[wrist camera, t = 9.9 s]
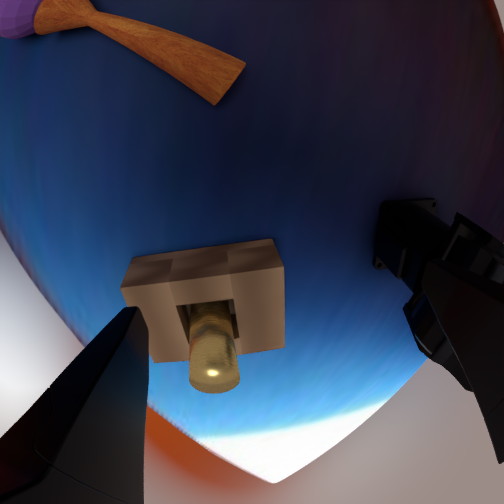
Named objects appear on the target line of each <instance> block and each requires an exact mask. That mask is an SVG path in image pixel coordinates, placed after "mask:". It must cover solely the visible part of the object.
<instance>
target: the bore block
mask: <svg viewBox="0 0 504 504" xmlns="http://www.w3.org/2000/svg"><path fill="white" fill-rule="evenodd" d="M120 289H121V292H122V294H123V297H124V299H125V301H126V304H127V306H128V307H130V306H137V307H139V308H140V310H141V312H142V315H143V317H144V319H145V322H146V324H147V327H148V330H149V354H150V356H151V357H152V359H153V361H154V363H161V362H176V361H188V360H189V341H190V304H194V303H203V302H211V301H218V300H226V299H228V301H229V308H230V315H231V322H232V329H233V335H234V342H235V349H236V355H241V354H248V353H255V352H261V351H268V350H274V349H279V348H285V296H284V265H283V263H282V261H281V258H280V256H279V254H278V251H277V249H276V247H275V244H274V242H273V240H272V239H264V240H257V241H249V242H242V243H234V244H227V245H219V246H212V247H205V248H197V249H190V250H183V251H176V252H169V253H162V254H155V255H148V256H141V257H134V258H132V260H131V263H130V265H129V267H128V270H127V272H126V275H125V277H124V279H123V282H122V284H121V287H120Z"/></svg>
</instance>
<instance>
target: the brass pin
mask: <svg viewBox="0 0 504 504" xmlns="http://www.w3.org/2000/svg"><path fill="white" fill-rule="evenodd" d="M189 381H190V384H191V385H192V386H193V387H194V388H195V389H197V390H199V391H201V392H205V393H223V392H226V391H229V390H231V389H233V388H235V387H236V386H237V385H238V383H239V381H240V374H239V368H238V362H237V355H236V349H235V342H234V335H233V329H232V322H231V315H230V308H229V301H228V299H226V300H218V301H211V302H203V303H194V304H190V341H189Z"/></svg>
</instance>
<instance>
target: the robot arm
mask: <svg viewBox="0 0 504 504" xmlns="http://www.w3.org/2000/svg"><path fill="white" fill-rule="evenodd" d="M432 204H433V205H432ZM387 206H388V208H387V209H386V207H387ZM437 206H438V202H437V200H435V199H434V198H426V199H409V200H394V201H385V202H383V203H382V205H381V210H380V219H379V227H378V229H377V237H376V244H375V251H374V253H375V255H374V261H373V266H374V268H375V269H377V270H380V269H385V268H388V269H389V270H390V271H391V272H392V273H393V274H394V275H395V277H396V278H397V279H402V280H403V282H404V283H405V284H406V285H407V286H408V287H409V288H410V290H411V291H412V292H413V293H414V294H413V295H412V297H411V298H410V300H409V301H408V303H406V304H405V305H404V307H403V311H404V314H405V316H406V318H407V321H408V323H409V326H410V328H411V331H412V334H413V336H414V339H415V341H416V343H417V346H418V348H419V350H420V351H421V352H423V353H424V354H425V355H426V356H427V357H428V358H429V359H431V360H432V361H434V362H436V363H438V364H440V365H442V366H443V367H444V368H445V369H446V370H448V371H449V372H450V373H451V374H452V375H453V376H454V377H455V378H456V379H457V381H458V382H459V383H460V384H461V385H462V386H463V387H464V389H466V390H468V391H471V392H474V394H475V397H476V399H477V402H478V404H479V407H480V409H481V412H482V415H483V417H484V421H485V423H486V426H487V429H488V432H489V435H490V438H491V441H492V444H493V447H494V450H495V454H496V457H497V461H498V463H499V464H501V463H503V462H504V244H503V243H501V242H500V241H499V240H498V239H496V238H495V237H493V236H492V235H491V234H489V233H488V232H487V231H485V230H484V229H482V228H481V227H479V226H478V225H476V224H475V223H473V222H472V221H470V220H469V219H467V218H466V217H464V216H463V215H461V214H459V213H458V212H457V213H456V215H455V217H454V219H455V220H454V222H453V224H452V226H451V227H450V226H449V225H447V224H446V223H445V222H443V221H442V220H440V219H439V218H437V217H436V212H437ZM378 264H379V265H378ZM148 385H149V330H148V327H147V324H146V322H145V319H144V317H143V315H142V312H141V310H140V308H139V307H137V306H130V307H125V308H123V309H122V310H121V311H120V312H119V313H118V314H117V315H116V316H115V317H114V318H113V319H112V320H111V321H110V322H109V323H108V324H107V325H106V326H105V327H104V328H103V329H102V330H101V331H100V332H99V334H98V335H97V336H96V337H95V338H94V339H93V340H92V341H91V342H90V343H89V344H88V345H87V346H86V347H85V348H84V349H83V350H82V351H81V352H80V353H79V355H78V356H77V357H76V358H75V359H74V360H73V361H72V362H71V363H70V364H69V365H68V366H67V367H66V369H65V370H64V371H63V372H62V373H61V374H60V375H59V376H58V377H57V378H56V379H55V381H54V382H53V383H52V384H51V385H50V388H47V390H46V391H45V392H44V393H43V394H42V395H41V396H40V398H39V399H38V400H37V401H36V402H35V403H34V404H33V405H32V406H31V407H30V409H29V410H28V411H27V412H26V413H25V414H24V415H23V416H22V417H21V418H20V419H19V420H18V421H17V422H16V423H15V424H14V425H13V426H12V427H11V428H10V429H9V430H8V431H7V432H6V433H5V434H4V435H3V436H2V437H1V438H0V504H144V483H143V482H144V479H143V478H144V476H143V475H144V472H143V471H144V440H145V422H146V408H147V396H148Z"/></svg>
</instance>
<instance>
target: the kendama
mask: <svg viewBox="0 0 504 504" xmlns="http://www.w3.org/2000/svg"><path fill="white" fill-rule="evenodd" d="M85 26H90V27H92V28H94V29H95V30H97V31H99V32H101V33H103V34H105V35H107V36H108V37H110V38H112V39H114V40H115V41H117V42H119V43H121V44H122V45H124V46H126V47H127V48H129V49H131V50H132V51H134V52H136V53H137V54H139V55H141V56H142V57H144V58H145V59H147V60H149V61H150V62H152V63H153V64H155V65H156V66H158V67H160V68H161V69H163V70H164V71H166V72H167V73H169V74H170V75H172V76H173V77H175V78H176V79H177V80H179V81H180V82H182V83H183V84H185V85H186V86H188V87H189V88H190V89H192V90H193V91H195V92H196V93H197V94H199V95H200V96H202V97H203V98H204V99H206V100H207V101H208V102H210V103H211V104H212V105H214V106H215V105H216V104H217V103H218V101H219V100H220V99H221V98H222V97H223V95H224V94H225V93H226V91H227V90H228V89H229V88H230V86H231V85H232V84H233V82H234V81H235V80H236V78H237V77H238V75H239V74H240V73H241V71H242V70H243V68H244V66H245V65H246V63H245V62H243V61H241V60H239V59H237V58H235V57H233V56H231V55H228V54H226V53H224V52H222V51H220V50H217V49H215V48H213V47H211V46H208V45H206V44H203V43H201V42H198V41H196V40H193V39H191V38H188V37H186V36H183V35H180V34H177V33H175V32H172V31H169V30H166V29H163V28H160V27H157V26H153V25H150V24H147V23H143V22H140V21H136V20H133V19H129V18H125V17H121V16H117V15H112V14H108V13H103V12H98V11H97V10H96V9H95V7H94V6H93V5H92V3H91V2H90V1H89V0H0V36H2V37H5V38H10V39H18V38H21V37H25V36H28V35H30V34H33V33H35V32H36V33H37V34H40V35H44V34H48V33H53V32H57V31H62V30H67V29H73V28H78V27H85Z"/></svg>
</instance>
